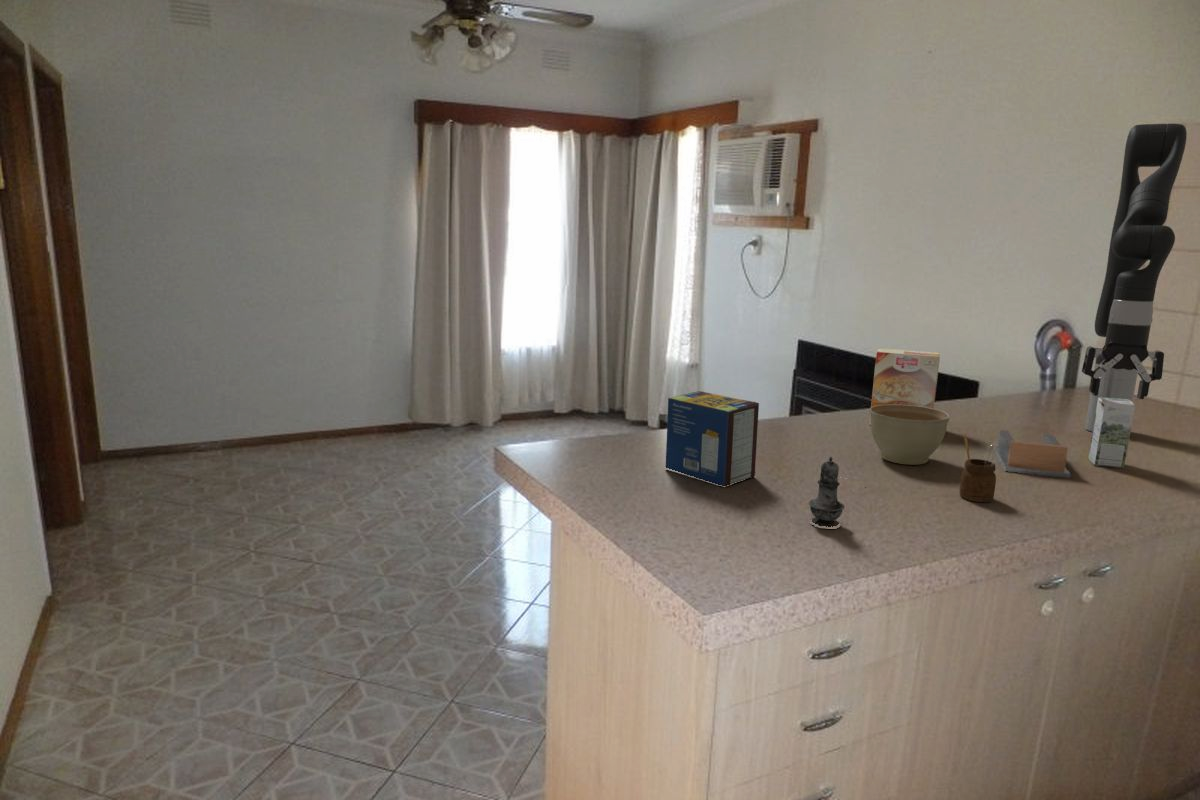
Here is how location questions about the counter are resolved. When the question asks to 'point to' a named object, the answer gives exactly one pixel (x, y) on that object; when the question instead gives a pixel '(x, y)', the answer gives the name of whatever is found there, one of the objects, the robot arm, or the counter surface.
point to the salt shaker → (827, 497)
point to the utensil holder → (978, 478)
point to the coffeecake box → (905, 378)
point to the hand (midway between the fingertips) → (1117, 396)
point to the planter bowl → (907, 432)
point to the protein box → (712, 437)
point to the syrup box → (1111, 432)
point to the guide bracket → (1032, 456)
